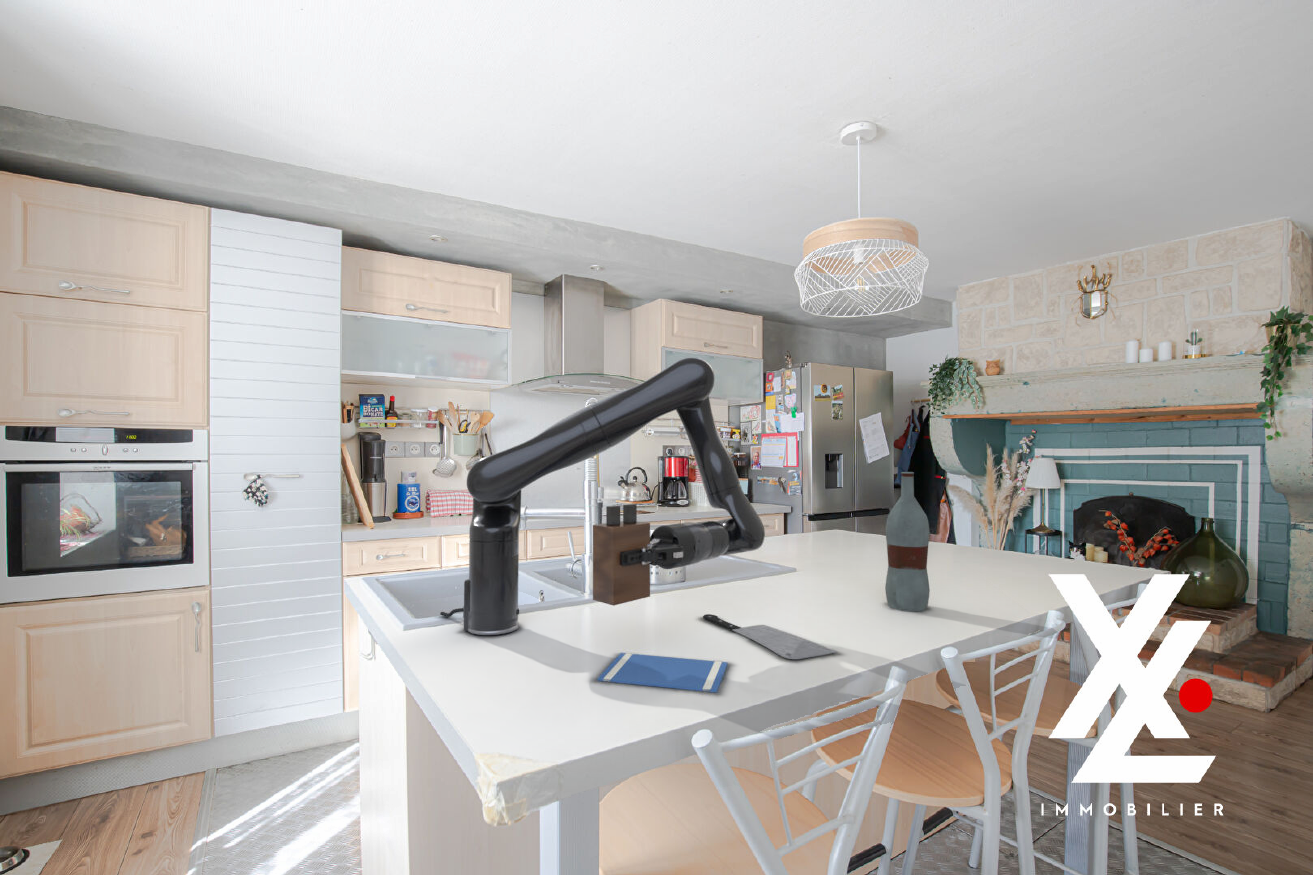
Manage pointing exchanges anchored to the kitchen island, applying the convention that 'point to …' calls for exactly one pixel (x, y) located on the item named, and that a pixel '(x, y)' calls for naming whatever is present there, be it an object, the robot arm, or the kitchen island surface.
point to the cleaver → (776, 640)
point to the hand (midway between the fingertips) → (609, 556)
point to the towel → (665, 672)
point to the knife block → (608, 543)
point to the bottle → (907, 551)
